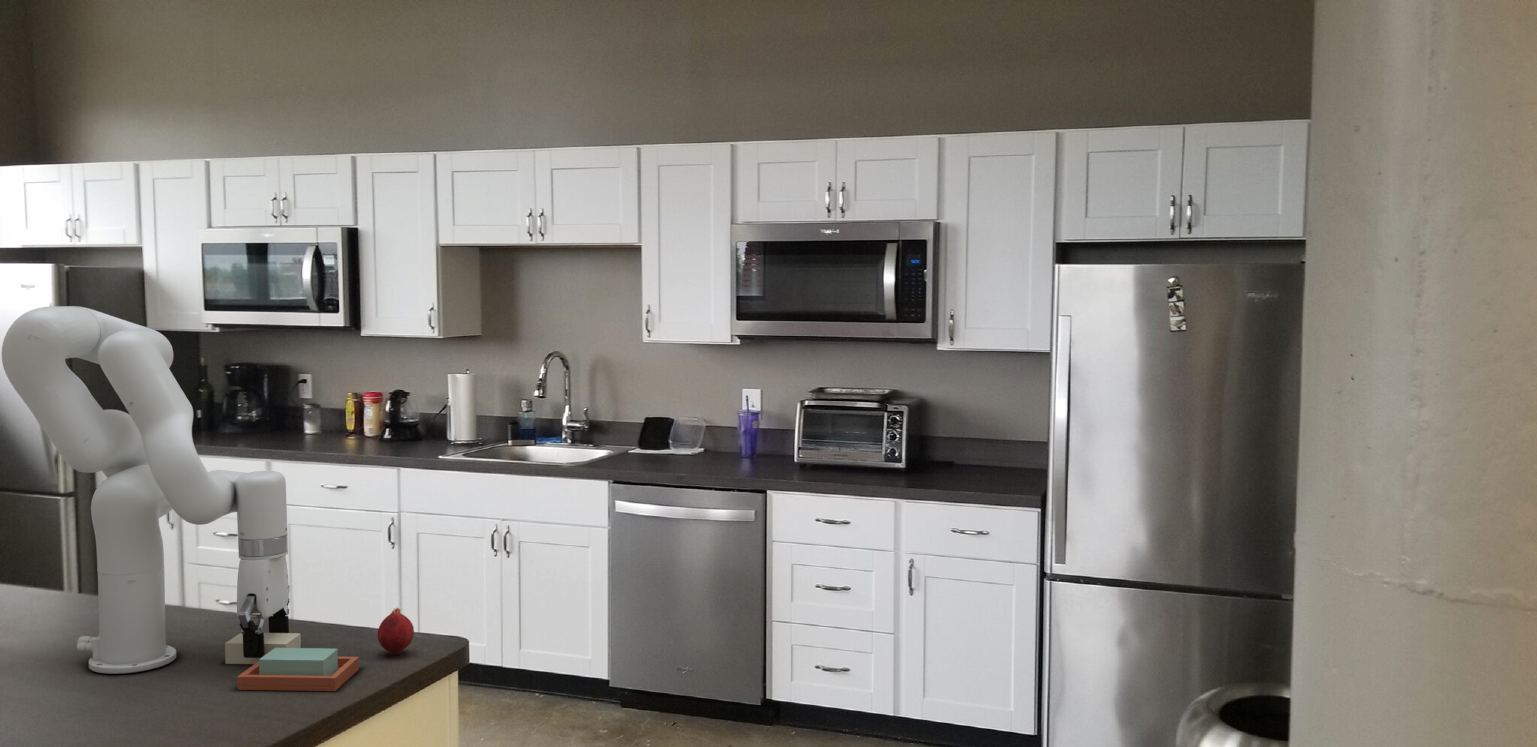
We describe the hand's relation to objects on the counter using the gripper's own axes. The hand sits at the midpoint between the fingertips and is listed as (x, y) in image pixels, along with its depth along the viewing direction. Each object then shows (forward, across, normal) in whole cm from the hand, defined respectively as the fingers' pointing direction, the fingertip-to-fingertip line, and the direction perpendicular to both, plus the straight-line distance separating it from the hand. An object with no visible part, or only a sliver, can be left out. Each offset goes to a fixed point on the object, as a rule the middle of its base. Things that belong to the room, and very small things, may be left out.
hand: (267, 647), depth 193 cm
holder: (+2, +10, +9) cm, 14 cm away
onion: (+2, -3, +20) cm, 21 cm away
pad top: (+2, 0, -1) cm, 2 cm away
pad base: (+1, +10, +9) cm, 14 cm away
